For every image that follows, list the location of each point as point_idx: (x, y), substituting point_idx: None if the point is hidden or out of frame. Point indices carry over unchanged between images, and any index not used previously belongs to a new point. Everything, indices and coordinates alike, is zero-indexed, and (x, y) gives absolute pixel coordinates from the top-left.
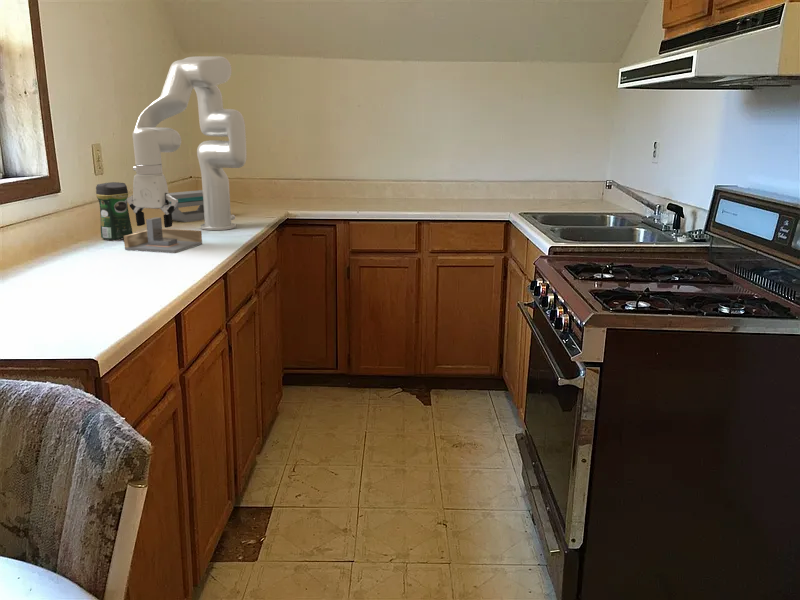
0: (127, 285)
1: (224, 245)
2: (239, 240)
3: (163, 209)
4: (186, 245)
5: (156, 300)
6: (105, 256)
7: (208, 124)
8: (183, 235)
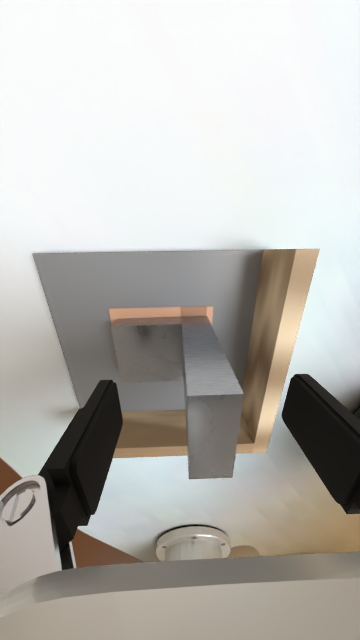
0: None
1: (11, 415)
2: (39, 471)
3: (26, 565)
4: (75, 356)
5: None
6: (292, 36)
7: None
8: (137, 428)
